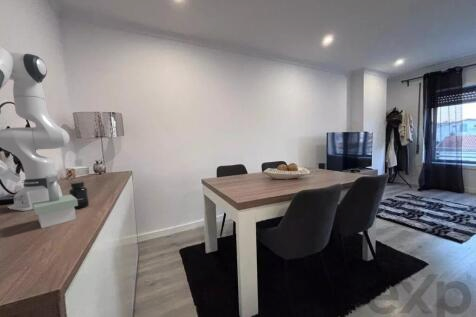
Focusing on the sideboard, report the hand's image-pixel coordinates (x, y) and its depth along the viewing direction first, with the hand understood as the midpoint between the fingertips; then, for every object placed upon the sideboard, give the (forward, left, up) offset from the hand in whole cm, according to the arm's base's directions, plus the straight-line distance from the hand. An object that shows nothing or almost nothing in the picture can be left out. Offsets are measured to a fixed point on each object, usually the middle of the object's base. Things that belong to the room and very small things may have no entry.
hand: (19, 179), depth 73 cm
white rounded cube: (+5, +7, -18) cm, 20 cm away
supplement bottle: (-1, +22, -19) cm, 29 cm away
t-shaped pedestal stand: (+5, +7, -13) cm, 15 cm away
